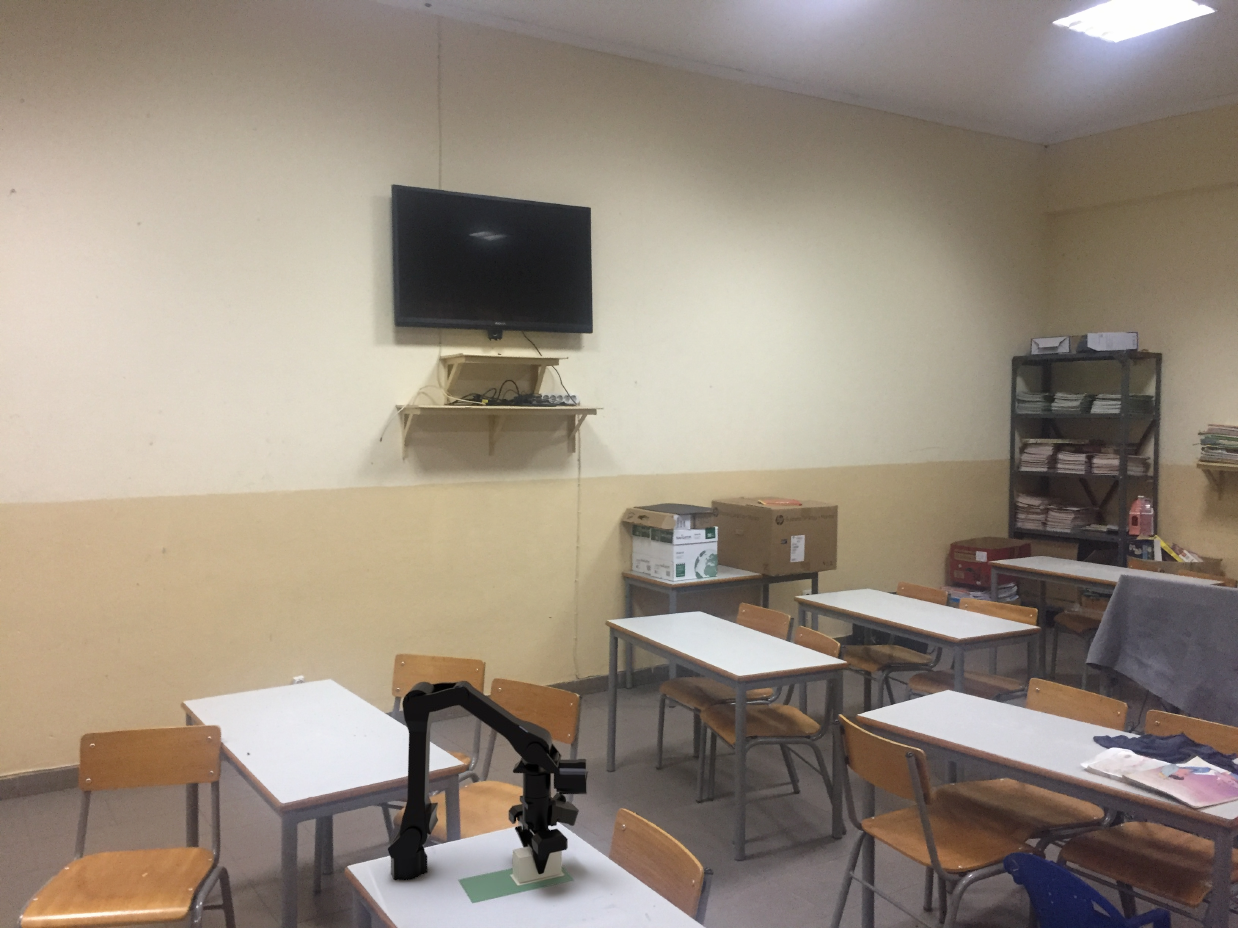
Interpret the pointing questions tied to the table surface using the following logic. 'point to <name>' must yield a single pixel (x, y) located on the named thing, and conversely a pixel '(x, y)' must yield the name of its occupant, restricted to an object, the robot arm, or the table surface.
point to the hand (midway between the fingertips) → (537, 868)
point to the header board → (505, 884)
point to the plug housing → (526, 867)
